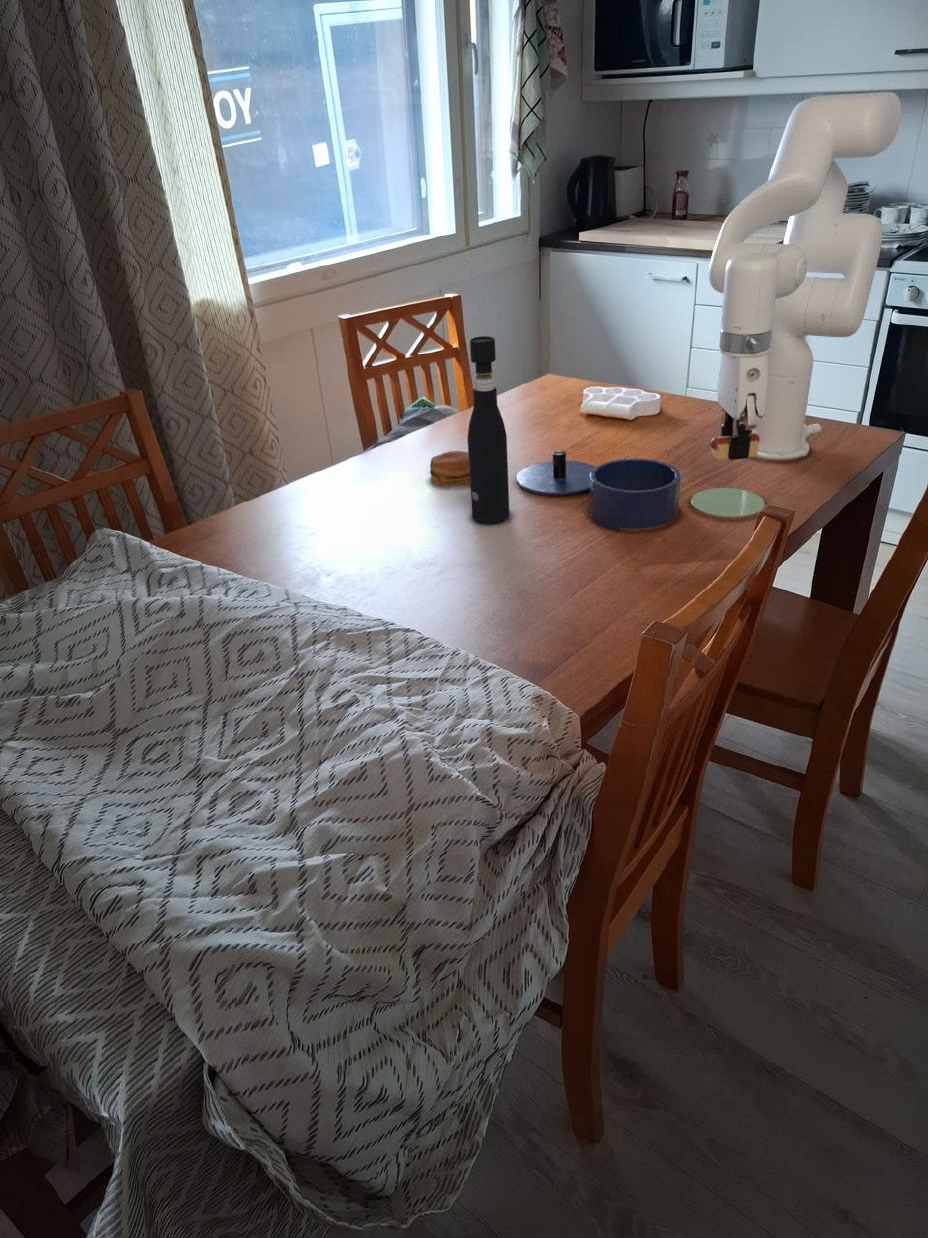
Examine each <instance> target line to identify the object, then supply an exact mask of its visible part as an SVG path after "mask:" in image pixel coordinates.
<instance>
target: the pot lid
mask: <svg viewBox="0 0 928 1238" xmlns="http://www.w3.org/2000/svg"><path fill="white" fill-rule="evenodd" d="M595 467H596V466H595V465H592V464H590V463H586V462H582V461H578V460H577V461H576V460H567V452H566V451H565V450H553V452H552V460H547V461H541V462H536V463H533V464H531V465H528V466H526V467H524V468H522V469H521V470H519V472H518V473H517V475H516V482H517V485H518V486H519V487H521V488H522V489H523V490H525V491H528V492H530V493H534V494H538V495H543V496H570V495H577V494H582V493H585V492H588V491H590V474H591V471H592V470H593V469H594V468H595Z"/></svg>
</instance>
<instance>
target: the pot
mask: <svg viewBox="0 0 928 1238" xmlns="http://www.w3.org/2000/svg"><path fill="white" fill-rule="evenodd" d="M680 489H681V472H680V471H679V470H678V468H676V467H675V466H673V465H671V464H669V463H666V462H663V461H659V460H655V459H647V458H622V459H615V460H610V461H606V462H603V463H601V464H599V465H597V466H595V468H594V469H593V470H592V471H591V474H590V490H589V517H590V519H591V520H592V521H593V522H594V523H595V524H597V525H598V526H601V527H602V528H605V529H608V530H612V531H617V532H621V529H627V530H628V529H630V530H631V529H633V530H635V529H636V530H642V529H650V528H656V527H660V526H663V525H666V524H668V523H670V522H672V521H673V520H674V519H675V518H676V517H677V516H678V514H679V505H680V504H679V503H680Z"/></svg>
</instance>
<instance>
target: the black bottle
mask: <svg viewBox="0 0 928 1238" xmlns="http://www.w3.org/2000/svg"><path fill="white" fill-rule="evenodd" d="M469 349H470V362H471V363H473V364H475V372H474V373H475V375H476V376H474V380H473V383H474V384H473V386H474V388H473V389H472V398H473V409H472V412H471V415H470V419H469V423H468V429H467V430H468V431H467V452H468V455H469V472H470V485H469V487H470V488H469V489H470V500H471V501H470V502H471V503H470V505H471V518H472V520H473V521H474V522H475V523H476V524H480V525H485V526H491V525H492V526H493V525H494V526H495V525H500V524H503V523H504V522H506V521H508V520H509V518H510V494H509V493H510V491H509V464H508V462H509V461H508V437H507V430H506V426H505V422H504V419H503V416H502V414H501V411H500V408H499V406H498V390H497V387H495V385H496V383H495V380H496V379H495V377H494V375H492V374H493V366H492V365H493V364H492V363H493V362H496V360H497V357H496V338H495V337H492V336H486V335H484V336H483V335H482V336H475V337H472V338H470V340H469Z"/></svg>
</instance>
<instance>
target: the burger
mask: <svg viewBox="0 0 928 1238" xmlns="http://www.w3.org/2000/svg"><path fill="white" fill-rule="evenodd" d="M429 468H430V471H429V474H430V483H432V484H433V485H435V486H437V487H442V488H443V487H444V488H447V487H449V488H450V487H451V486H452V487H463V486H470V472H469V455H468V451H464V450H463V451H462V450H451V451H446V452H442V453H441V454H438V455H435V456H432V458H431V459H430V464H429Z"/></svg>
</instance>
